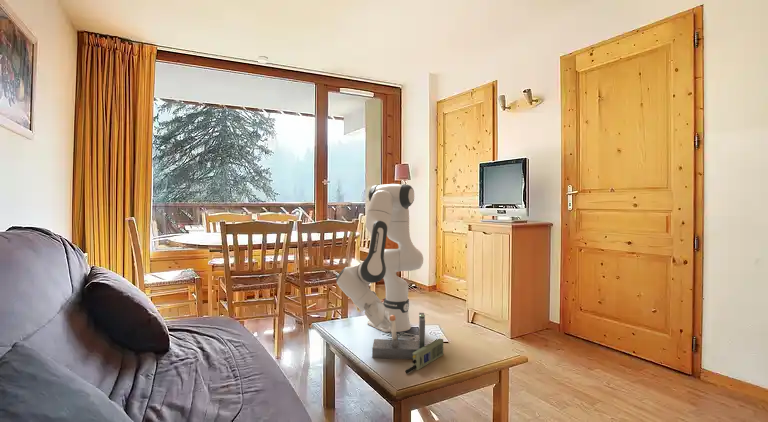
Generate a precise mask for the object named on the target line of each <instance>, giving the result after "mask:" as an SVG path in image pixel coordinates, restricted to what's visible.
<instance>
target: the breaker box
mask: <svg viewBox="0 0 768 422" xmlns="http://www.w3.org/2000/svg"><path fill="white" fill-rule="evenodd" d="M425 341H426V314H425V312H419V313H418V339H417V340H415V339H399V335H397V340H392V339H389V338H388V339H385V338H384V339H383V338H382V339H381V338H374V339H373V342H372V343H373V344H372V347H371V348H372V351H371V352H372V353H371V355H372V357H371V359H372V358H373V359H393V360H395V359H396V360H397V359H399V360H413V354H412V353H413V352H415V351H417V350H419V349H420V348H422V347H424V346H426V345H425V344H426V342H425Z"/></svg>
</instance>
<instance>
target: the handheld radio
mask: <svg viewBox="0 0 768 422" xmlns="http://www.w3.org/2000/svg"><path fill="white" fill-rule="evenodd" d="M412 354H413V359H412V366H410V367H408V368H407V369H406V370H405V373H406V374H409V373H411V372H413V371H414V370H416V371H419V370H420V369H422V368H423V367H426V366H427V365H429V364H431V363H432V362H434V361H435V360H437V359H439V358H441V357H442V356H444V339H443V338H437V339H436V340H434V341H432V342H430V343H428V344H426V345H425V346H424V347H422V348H420V349H419V350H417V351H415V352H413V353H412Z"/></svg>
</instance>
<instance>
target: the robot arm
mask: <svg viewBox="0 0 768 422" xmlns="http://www.w3.org/2000/svg"><path fill="white" fill-rule="evenodd" d="M368 201H369V204H368V207H367V211H366V215H365V227H366V229H367V231H368V232H369V233H370V242H369V247H368V253H367V256H366V258H365V259H364V261H362V262H360V263H357V264H355V265H350V266H345V267H344V268H343V269H342V270H341V271H340V272H339V274H337V277H336V280H335V281H336V284H337V286H338V287H339V289H340V290H341V291H342V292H343V293H344V294H345V295H346V297H348V298H350V299H351V301H352V304H354V306H356V307H357V308H358V310H359V311H360V312H364V315H365V316H366V318H367V319H368V321H367V325H369V326H370V327H373V328H375V329H377V330H379V331H382V332H384V333H390V332H391V322H390V319H389V318H390V316H391V315H394V316H395V317H396V319H395V323H396V333H398V332H406V331H409V330H410V329H411V328H412V325H411V321H410V313H409V308H410V307H409V306H410V299H409V284H408V282H407V281H406V280H405V279H403V278H402V277H399V276H398V275H397V272H412V271H417V270H420V269H421V268H422V266H423V264H424V255H423V253H422V252H421V251H420V250H419V249H418V248H417V247H416V246H415V245H414V244H413V242H412V239H411V236H410V234H411V233H410V209H409V207H411V206H412V204H413V203H414V201H415V191H414V188H413V187H412V186H411V185H409V184H405V183H403V184H401V183H400V184H399V183H388V184H387V183H384V184H375V185H372V186H371V187H370V189H369V191H368ZM387 238H388V239H389V240H390V241H392V242H394V243H396V244H397V246H398V248H385V247H386V242H387ZM382 280H383V281H384V286H385V298H383V299H380V298H379V297H378V295H377V293H376V292H375V291H374V290H372V289H370V287H369V285H370V284H375V283H378V282H380V281H382ZM391 333H392V332H391Z"/></svg>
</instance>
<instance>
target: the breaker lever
mask: <svg viewBox="0 0 768 422" xmlns="http://www.w3.org/2000/svg"><path fill="white" fill-rule="evenodd" d="M389 319H390V322H391V340H397V336H398V335H397V332H396V323H395V319H396V317H395V316H394V315H391V316H390V318H389Z"/></svg>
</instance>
